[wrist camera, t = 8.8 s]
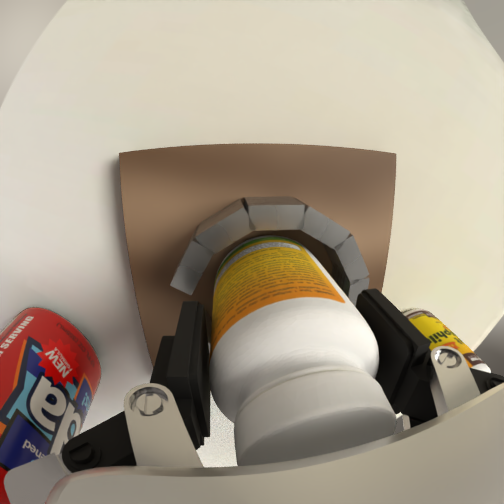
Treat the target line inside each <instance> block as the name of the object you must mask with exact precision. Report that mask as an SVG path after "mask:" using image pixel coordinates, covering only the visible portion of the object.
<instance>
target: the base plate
mask: <svg viewBox="0 0 504 504" xmlns="http://www.w3.org/2000/svg"><path fill="white" fill-rule="evenodd" d="M119 161H120V179H121V193H122V205H123V215H124V224H125V232H126V240H127V247H128V254H129V260H130V266H131V272H132V278H133V284H134V289H135V294H136V299H137V304H138V309H139V313H140V318H141V322H142V326H143V331H144V335H145V339H146V343H147V347H148V350H149V354H150V358H151V361H152V365H153V368H154V364H155V361H156V357H157V353H158V350H159V346H160V342H161V339H162V337H163V336H175V333H176V329H177V324H178V320H179V316H180V311H181V307H182V303H183V301H199V302H200V304H201V305H203V304H204V309H205V310H206V311H207V312H208V314H209V315H210V316H211V318H212V311H213V295H214V284H215V278H216V274H217V271H218V269H219V267H220V265H221V263H222V261H223V260H224V258H225V257H226V256H227V255H228V254H229V253H230V252H231V251H232V250H233V249H234V248H235V247H237V246H238V245H239V244H241V243H243V242H245V241H247V240H249V239H252V238H254V237H259V236H265V235H276V236H282V237H287V238H290V239H292V240H295V241H297V242H299V243H300V244H302V245H303V246H304V247H306V248H307V249H308V250H309V251H310V252H311V253H312V254H313V255H314V257H315V258H316V259H317V260H318V261H319V262H320V264H321V265H322V266H323V267H324V268H325V270H326V271H327V272H328V273H329V275H330V276H331V274H332V262H331V260H330V258H329V256H328V254H327V252H326V250H325V248H324V246H323V244H322V242H321V241H319V240H317V239H316V238H314V237H312V236H310V235H309V234H307V233H305V232H303V231H302V230H300V229H298V230H263V231H252V232H250V233H249V234H247V235H245V236H244V237H242V238H240V239H239V240H237V241H235V242H234V243H232V244H230V245H229V246H227V247H225V248H224V249H222V250H220V251H219V252H217V253H215V254H214V255H212V257H211V259H210V261H209V263H208V265H207V267H206V269H205V270H204V272H203V274H202V276H201V278H200V280H199V282H198V284H197V286H196V288H195V289H194V291H193V293H192V295H189V294H187V293H185V292H183V291H181V290H178V289H176V288H174V287H172V286H170V284H171V282H172V279H173V276H174V274H175V271H176V269H177V266H178V264H179V262H180V260H181V257H182V255H183V253H184V251H185V249H186V247H187V245H188V243H189V241H190V239H191V237H192V235H193V233H194V231H195V229H196V227H197V226H198V227H199V225H200V223H201V222H202V221H204V220H206V219H207V218H209V217H210V216H212V215H214V214H215V213H217V212H218V211H220V210H222V209H223V208H225V207H227V206H228V205H230V204H231V203H233V202H235V201H236V200H238V199H241V201H242V202H243V204H244V197H279V196H291V197H292V198H296V199H298V200H300V201H301V202H303V203H305V204H307V205H308V206H310V207H312V208H313V209H315V210H316V211H318V212H320V213H321V214H323V215H325V216H326V217H328V218H329V219H331V220H333V221H334V222H336V223H337V224H339V225H340V226H342V227H343V228H345V229H347V230H348V231H350V233H351V234H352V235H353V236H354V238H355V241H356V243H357V245H358V248H359V250H360V253H361V255H362V257H363V260H364V262H365V265H366V267H367V270H368V272H369V275H368V277H369V278H370V280H369V286H368V289H374V288H376V289H378V290H379V291H380V292H382V287H383V281H384V276H385V270H386V264H387V257H388V250H389V243H390V235H391V227H392V217H393V207H394V194H395V177H396V154H395V153H388V152H381V151H373V150H364V149H355V148H344V147H332V146H318V145H299V144H213V145H194V146H179V147H167V148H157V149H147V150H138V151H130V152H123V153H119Z"/></svg>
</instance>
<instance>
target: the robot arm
mask: <svg viewBox="0 0 504 504" xmlns="http://www.w3.org/2000/svg"><path fill="white" fill-rule="evenodd" d="M356 309H357V310H358V311H359V312H360V314H361V315H362V316H363V318H364V319H365V321H366V322H367V324H368V325H369V327H370V329H371V330H372V332H373V334H374V336H375V339H376V341H377V345H378V350H379V366H378V371H377V374H376V377H375V380H376V381H377V382H378V383H379V384H380V386H381V387H382V390H383V392H384V394H385V396H386V398H387V400H388V401H389V403H390V405H391V407H392V409H393V411H394V413H395V414H398V413H400V412H401V413H402V414H403V425H404V431H402V432H400V433H397V434H394V435H391V436H388V437H386V438H383V439H380V440H376V441H373V442H370V443H367V444H363V445H360V446H356V447H353V448H349V449H345V450H341V451H337V452H333V453H328V454H324V455H319V456H314V457H309V458H304V459H298V460H292V461H285V462H278V463H270V464H260V465H249V466H233V467H208V468H204V467H203V465H202V463H201V460H200V458H199V456H198V454H197V452H196V450H197V449H198V448H200V445H204V437H210V383H209V358H210V353H209V345H208V337H207V328H206V318H205V309H204V304H203V305H199V303H198V301H183V303H182V307H181V311H180V316H179V320H178V324H177V329H176V333H175V336H163V337H162V339H161V342H160V346H159V350H158V353H157V357H156V361H155V364H154V368H153V372H152V376H151V380H150V383H148V384H142V385H139V386H136V387H135V388H133V389H131V390H130V391H129V392H128V393H127V394H126V396H125V399H124V410H125V411H123V412H121V413H119V414H117V415H116V416H114V417H112V418H110V419H108V420H106V421H104V422H103V423H101V424H99V425H97V426H95V427H93V428H91V429H89V430H87V431H85V432H83V433H81V434H79V435H77V436H75V437H73V438H72V439H70V440H69V441H68V442H67V443H66V444H65V445H64V447H63V450H62V453H61V454H59V455H56V453H55V452H54V453H51V454H49V455H47V456H44V457H42V458H39V459H37V460H34V461H32V462H29V463H27V464H24V465H21V466H19V467H16V468H13V469H11V470H10V471H8V473H7V474H6V475H5V479H4V486H5V490H6V493H7V496H8V498H9V501H10V504H504V377H503V376H501V375H497V374H493V373H489V372H485V371H481V370H477V369H473V368H469V367H468V364H467V362H466V360H465V358H464V356H463V355H462V354H461V353H460V352H459V351H458V350H456V349H454V348H452V347H448V346H439V347H436V348H434V349H433V350H432V351H431V350H430V349H429V347H430V344H431V342H430V341H429V340H428V339H427V338H426V337H425V336H424V335H423V334H422V333H421V332H420V331H419V330H418V329H417V328H416V327H415V326H414V325H413V324H412V323H411V322H410V321H409V320H408V319H407V318H406V317H405V316H404V315H403V314H402V313H401V312H400V311H399V310H398V309H397V308H396V307H395V306H394V305H393V304H392V303H391V302H390V301H389V300H388V299H387V298H386V297H385V296H384V295H383V294H382V293H381V292H380V291H379V290H378V289H376V288H374V289H365V290H362V292H361V293H360V294H358V296H357V301H356Z"/></svg>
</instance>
